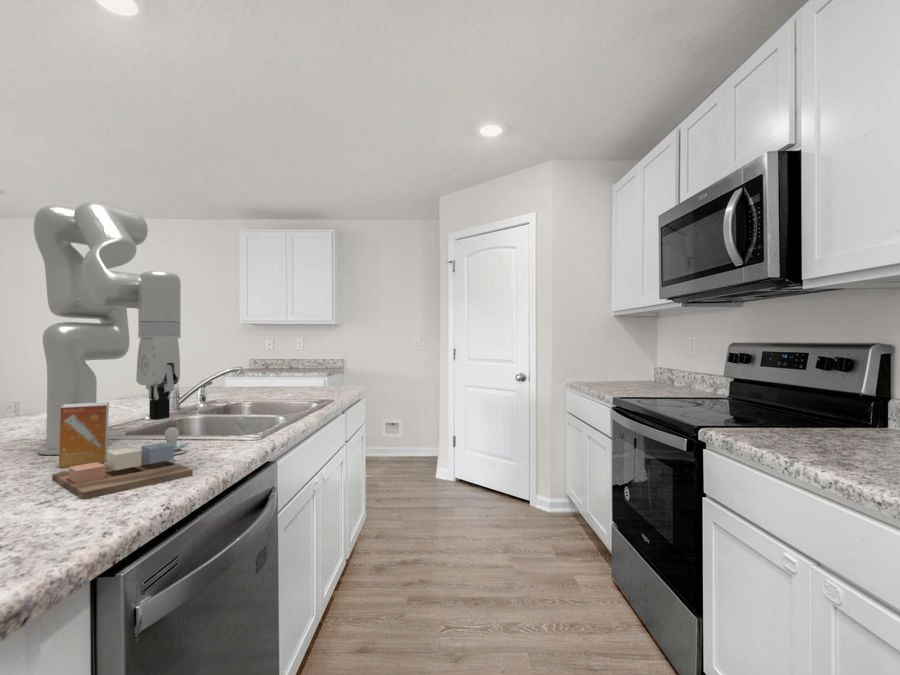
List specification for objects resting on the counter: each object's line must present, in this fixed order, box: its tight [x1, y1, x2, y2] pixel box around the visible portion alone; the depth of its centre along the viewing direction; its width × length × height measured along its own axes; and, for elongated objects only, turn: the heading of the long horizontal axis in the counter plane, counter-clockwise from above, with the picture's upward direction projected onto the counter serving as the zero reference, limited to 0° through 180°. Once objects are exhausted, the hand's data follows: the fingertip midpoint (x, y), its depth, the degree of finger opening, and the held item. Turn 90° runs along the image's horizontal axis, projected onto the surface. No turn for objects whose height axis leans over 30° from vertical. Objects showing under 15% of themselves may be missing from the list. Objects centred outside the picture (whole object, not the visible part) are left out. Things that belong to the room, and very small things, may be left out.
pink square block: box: [68, 462, 106, 484], centre depth 86 cm, size 4×4×3 cm
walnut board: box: [51, 460, 194, 500], centre depth 91 cm, size 18×18×1 cm
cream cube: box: [106, 447, 142, 470], centre depth 91 cm, size 4×4×3 cm
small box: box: [58, 401, 110, 468], centre depth 102 cm, size 8×6×13 cm
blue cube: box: [141, 441, 175, 464], centre depth 96 cm, size 4×4×3 cm
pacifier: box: [164, 426, 190, 456], centre depth 110 cm, size 7×6×6 cm
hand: (159, 418), depth 96 cm, fingers closed
